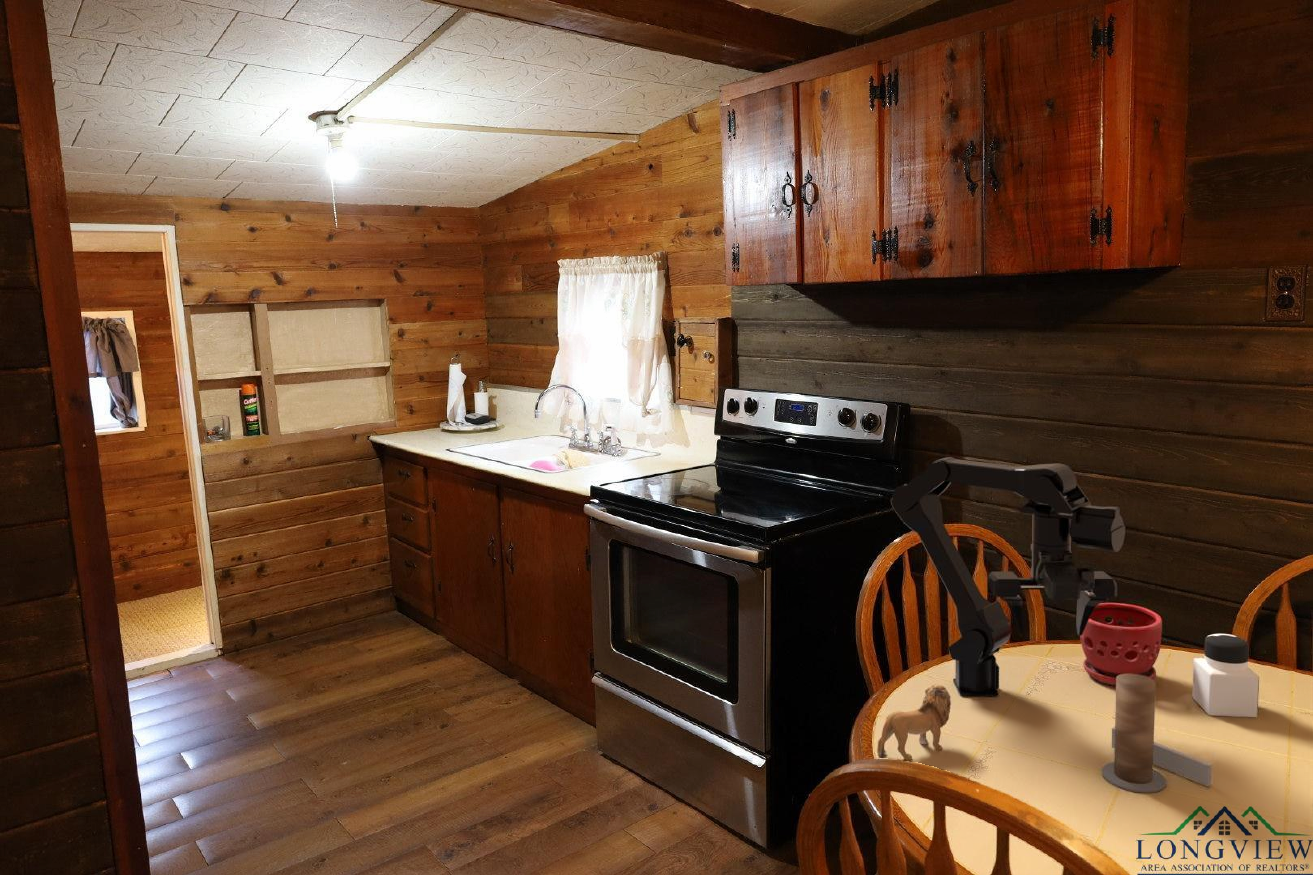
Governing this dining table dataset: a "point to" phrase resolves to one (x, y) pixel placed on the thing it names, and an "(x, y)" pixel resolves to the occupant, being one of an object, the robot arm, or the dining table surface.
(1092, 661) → the plant pot
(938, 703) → the lion figurine
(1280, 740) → the dining table surface
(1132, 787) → the resting pad
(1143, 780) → the pepper mill
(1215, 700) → the medicine bottle
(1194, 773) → the low wall
